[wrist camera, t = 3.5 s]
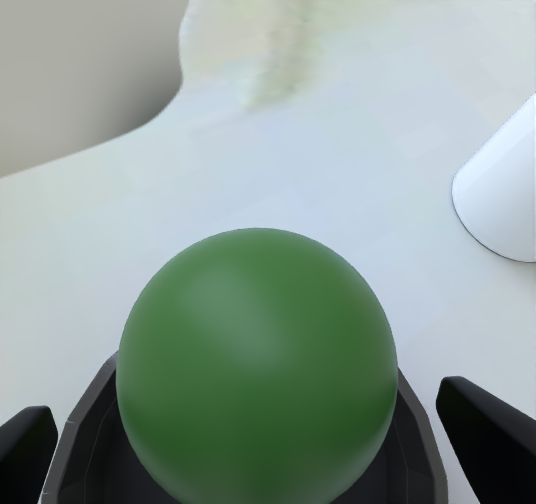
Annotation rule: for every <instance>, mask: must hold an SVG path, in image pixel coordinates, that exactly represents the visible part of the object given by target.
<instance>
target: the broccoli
mask: <svg viewBox="0 0 536 504" xmlns="http://www.w3.org/2000/svg"><path fill="white" fill-rule="evenodd" d="M397 387H398V362H397V355H396V348H395V343H394V339H393V335H392V331H391V327H390V325H389V322H388V320H387V317H386V315H385V312H384V310H383V308H382V306H381V304H380V302H379V301H378V299H377V297H376V295H375V294H374V292H373V291H372V289H371V288H370V286H369V285H368V283H367V282H366V281H365V280H364V278H363V277H362V276H361V275H360V274H359V273H358V272H357V270H356V269H355V268H354V267H353V266H351V265H350V264H349V263H348V262H347V261H346V260H345V259H344V258H343V257H341V256H340V255H338V254H337V253H336V252H334V251H333V250H331V249H330V248H328V247H326V246H324V245H323V244H321V243H319V242H317V241H315V240H313V239H310V238H308V237H305V236H303V235H300V234H296V233H293V232H289V231H284V230H278V229H271V228H248V229H237V230H233V231H228V232H223V233H220V234H217V235H214V236H211V237H208V238H206V239H204V240H201V241H199V242H197V243H195V244H193V245H191V246H190V247H188V248H186V249H185V250H183V251H182V252H180V253H178V254H177V255H176V256H175V257H174V258H172V259H171V260H170V261H169V262H167V263H166V264H165V265H164V266H163V267H162V268H161V269H160V270H159V271H158V272H157V273H156V274H155V275H154V276H153V277H152V279H151V280H150V281H149V283H148V284H147V285H146V287H145V288H144V289H143V291H142V292H141V294H140V296H139V297H138V299H137V301H136V302H135V304H134V306H133V308H132V310H131V312H130V315H129V317H128V319H127V322H126V324H125V327H124V331H123V334H122V338H121V341H120V346H119V352H118V358H117V366H116V389H117V400H118V406H119V411H120V415H121V419H122V423H123V426H124V429H125V432H126V434H127V437H128V439H129V442H130V444H131V446H132V448H133V450H134V451H135V453H136V455H137V457H138V459H139V460H140V462H141V464H142V465H143V466H144V467H145V469H146V470H147V471H148V473H149V474H150V475H151V477H152V478H153V479H154V480H155V481H156V482H157V483H158V484H159V485H160V486H161V487H162V488H163V489H164V490H165V491H166V492H167V493H168V494H169V495H171V496H172V497H174V498H175V499H177V500H178V501H179V502H181V503H182V504H329V503H331V502H332V501H333V500H335V499H336V498H337V497H338V496H340V495H341V494H342V493H344V492H345V491H346V490H348V489H349V488H350V487H351V486H352V485H353V483H354V482H355V481H356V480H357V479H358V478H359V477H360V476H361V475H362V474H363V473H364V471H365V470H366V469H367V467H368V466H369V465H370V463H371V462H372V461H373V459H374V458H375V456H376V454H377V452H378V450H379V449H380V447H381V445H382V443H383V441H384V439H385V436H386V434H387V431H388V429H389V426H390V423H391V420H392V416H393V412H394V408H395V404H396V396H397Z"/></svg>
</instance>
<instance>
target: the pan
mask: <svg viewBox="0 0 536 504" xmlns="http://www.w3.org/2000/svg"><path fill="white" fill-rule="evenodd" d="M118 352H119V350H118V351H117V352H116V353H115V354H113V355H112V356H111V357H110V358H109V359H108V360H107V361H106V363H104V364H103V366H102V367H101V369H100V370H99V372H98V373H97V375H96V376H95V378H94V379H93V381H92V382H91V384H90V385H89V387H88V388H87V390H86V391H85V393H84V394H83V396H82V397H81V399H80V400H79V402H78V403H77V405H76V407H75V408H74V410H73V411H72V413H71V414H70V416H69V417H68V419H67V421H66V423H65V426H64V429H63V432H62V435H61V438H60V441H59V444H58V447H57V450H56V453H55V456H54V459H53V462H52V465H51V468H50V471H49V474H48V477H47V480H46V483H45V486H44V489H43V493H42V499H41V504H182V503H181V502H179V501H178V500H177V499H175V498H174V497H172V496H171V495H169V494H168V493H167V492H166V491H165V490H164V489H163V488H162V487H161V486H160V485H159V484H158V483H157V482H156V481H155V480H154V479H153V478H152V477H151V475H150V474H149V473H148V471H147V470H146V469H145V467H144V466H143V465H142V464H141V462H140V460H139V459H138V457H137V455H136V453H135V451H134V450H133V448H132V446H131V444H130V442H129V439H128V437H127V434H126V432H125V429H124V426H123V423H122V419H121V415H120V411H119V406H118V400H117V389H116V366H117V358H118ZM446 478H447V476H446V473H445V470H444V467H443V463H442V460H441V457H440V454H439V451H438V447H437V444H436V441H435V438H434V434H433V431H432V428H431V425H430V422H429V418H428V415H427V413H426V411H425V409H424V408H423V406H422V405H421V403H420V401H419V400H418V398H417V396H416V395H415V393H414V392H413V390H412V388H411V387H410V385H409V384H408V382H407V380H406V379H405V377H404V375H403V374H402V372H401V371H400V369H399V367H398V387H397V396H396V404H395V408H394V412H393V416H392V420H391V423H390V426H389V429H388V431H387V434H386V436H385V439H384V441H383V443H382V445H381V447H380V449H379V450H378V452H377V454H376V456H375V458H374V459H373V461H372V462H371V463H370V465H369V466H368V467H367V469H366V470H365V471H364V473H363V474H362V475H361V476H360V477H359V478H358V479H357V480H356V481H355V482H354V483H353V485H352V486H351V487H350V488H349V489H348V490H346V491H345V492H344V493H342V494H341V495H340V496H338V497H337V498H336V499H335V500H333V501H332V502H331V503H329V504H448V485H447V479H446Z"/></svg>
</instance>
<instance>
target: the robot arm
mask: <svg viewBox="0 0 536 504" xmlns="http://www.w3.org/2000/svg"><path fill="white" fill-rule="evenodd" d="M436 410H437V413H438V415H439V418H440V420H441V422H442V424H443V427H444V429H445V431H446V433H447V436H448V438H449V440H450V442H451V445H452V447H453V449H454V451H455V454H456V456H457V458H458V460H459V463H460V465H461V467H462V469H463V471H464V474H465V476H466V478H467V480H468V482H469V484H470V485H471V487H472V489H473V491H474V493H475V495H476V497H477V498H478V500H479V502H480V504H536V420H534V419H532V418H531V417H529V416H527V415H526V414H524V413H522V412H521V411H519V410H517V409H516V408H514V407H512V406H511V405H509V404H507V403H506V402H504V401H502V400H501V399H499V398H497V397H496V396H494V395H492V394H491V393H489V392H487V391H486V390H484V389H482V388H480V387H479V386H477V385H475V384H474V383H472V382H470V381H469V380H467V379H465V378H464V377H461V376H451V377H444V378H443V379H442V381H441V384H440V388H439V392H438V395H437V399H436ZM57 441H58V431H57V428H56V425H55V422H54V419H53V416H52V412H51V410H50V408H49V407H48V406H32V407H27V408H25V409H23V410H22V411H20V412H19V413H18V414H16V415H15V416H14V417H12V418H11V419H10V420H9V421H7V422H6V423H5V424H3V425H2V426H1V427H0V504H37V503H38V500H39V497H40V494H41V491H42V488H43V485H44V482H45V479H46V476H47V473H48V470H49V466H50V463H51V460H52V457H53V454H54V451H55V448H56V445H57Z"/></svg>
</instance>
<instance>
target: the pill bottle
mask: <svg viewBox="0 0 536 504" xmlns="http://www.w3.org/2000/svg"><path fill="white" fill-rule="evenodd" d="M452 196H453V202H454V206H455V209H456V212H457V214H458V216H459V218H460V219H461V221H462V223H463V224H464V226H465V227H466V228H467V230H468V231H469V232H470V233H471V234H472V235H473V236H474V237H475V238H476V239H477V240H478V241H479V242H480V243H482V244H483V245H485V246H486V247H487V248H489V249H490V250H492V251H494V252H496V253H498V254H500V255H502V256H504V257H507V258H510V259H513V260H517V261H524V262H536V92H535V93H534V94H533V95H532V96H531V97H530V98H529V99H528V100H527V101H526V102H525V103H524V104H523V105H522V106H521V107H520V108H519V109H518V110H517V111H516V112H515V113H514V114H513V115H512V116H511V117H510V118H509V119H508V120H507V121H506V122H505V123H504V124H503V125H502V126H501V127H500V128H499V129H498V130H497V131H496V132H495V133H494V134H493V135H492V136H491V137H490V138H489V139H488V140H487V141H486V142H485V143H484V144H483V145H482V146H481V147H480V148H479V149H478V150H477V151H476V152H475V153H474V154H473V155H472V156H471V157H470V158H469V159H468V160H467V161H466V162H465V163H464V165H463V166H462V167H461V168H460V169H459V171H458V172H457V174H456V176H455V178H454V181H453V187H452Z"/></svg>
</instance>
